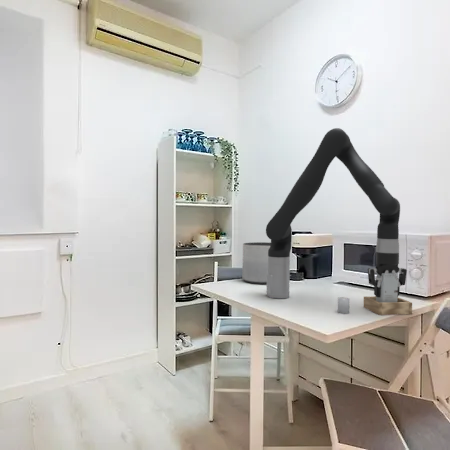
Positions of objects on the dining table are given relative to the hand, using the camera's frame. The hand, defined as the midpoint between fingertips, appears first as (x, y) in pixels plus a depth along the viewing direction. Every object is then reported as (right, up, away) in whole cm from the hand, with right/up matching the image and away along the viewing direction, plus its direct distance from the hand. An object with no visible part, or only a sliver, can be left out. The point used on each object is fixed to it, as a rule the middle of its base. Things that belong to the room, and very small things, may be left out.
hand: (386, 296), depth 123 cm
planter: (-39, -4, +58) cm, 69 cm away
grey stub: (-17, -5, -3) cm, 18 cm away
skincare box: (0, -3, 0) cm, 3 cm away
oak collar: (0, -5, 0) cm, 5 cm away
